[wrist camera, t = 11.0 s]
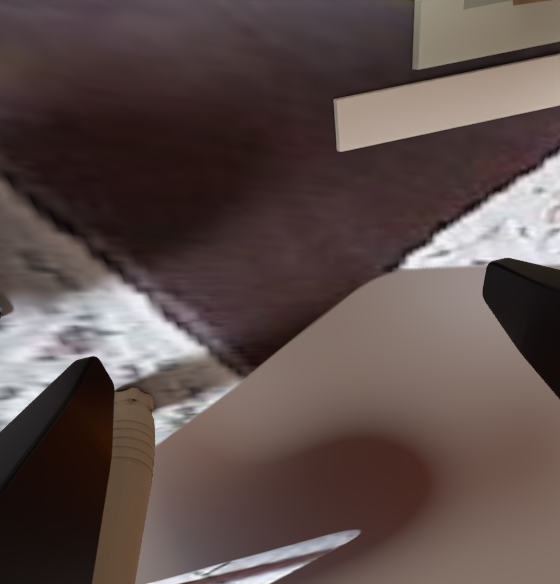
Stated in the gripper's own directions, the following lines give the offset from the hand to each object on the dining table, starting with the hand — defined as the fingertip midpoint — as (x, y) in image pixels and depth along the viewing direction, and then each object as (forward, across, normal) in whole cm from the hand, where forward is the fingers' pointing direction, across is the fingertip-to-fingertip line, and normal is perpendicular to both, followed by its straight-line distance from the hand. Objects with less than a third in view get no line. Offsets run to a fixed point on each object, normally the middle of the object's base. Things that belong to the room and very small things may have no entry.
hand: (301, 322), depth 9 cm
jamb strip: (+13, -13, -1) cm, 18 cm away
